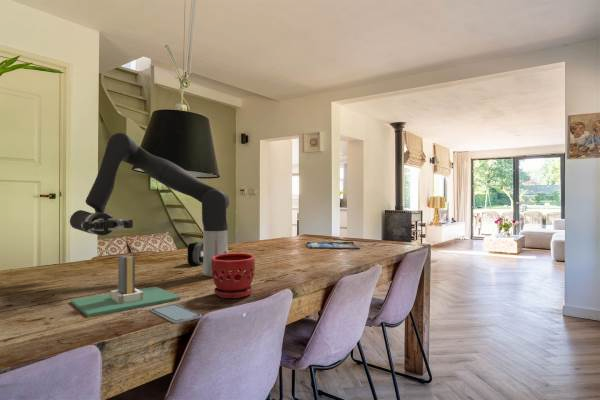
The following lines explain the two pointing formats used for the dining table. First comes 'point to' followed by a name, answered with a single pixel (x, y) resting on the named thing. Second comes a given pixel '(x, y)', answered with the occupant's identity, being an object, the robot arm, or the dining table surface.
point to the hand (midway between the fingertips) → (114, 225)
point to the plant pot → (233, 274)
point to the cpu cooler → (195, 253)
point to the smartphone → (175, 313)
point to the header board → (122, 301)
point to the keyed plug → (126, 274)
